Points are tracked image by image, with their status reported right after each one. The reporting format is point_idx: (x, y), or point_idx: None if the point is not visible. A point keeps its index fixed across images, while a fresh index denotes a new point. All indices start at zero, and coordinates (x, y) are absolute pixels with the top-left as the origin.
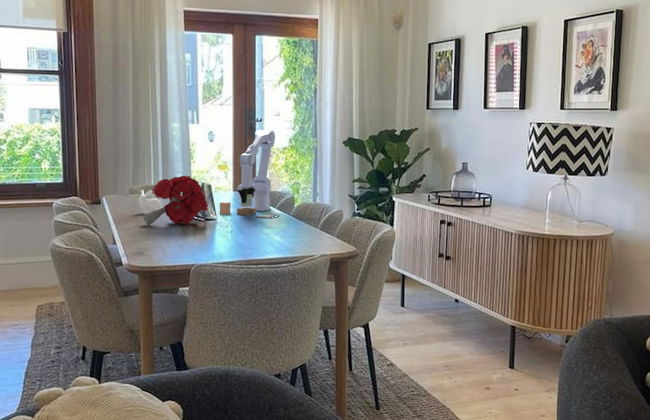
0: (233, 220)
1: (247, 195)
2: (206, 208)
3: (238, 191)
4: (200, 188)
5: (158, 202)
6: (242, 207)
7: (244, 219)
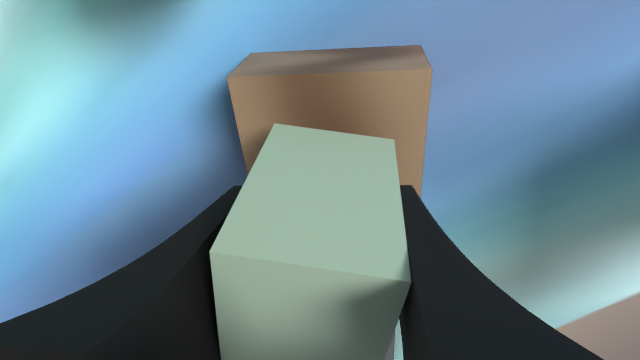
0: (3, 221)
1: (240, 356)
2: None
3: (13, 328)
4: None
5: None
6: (358, 82)
7: (105, 254)
